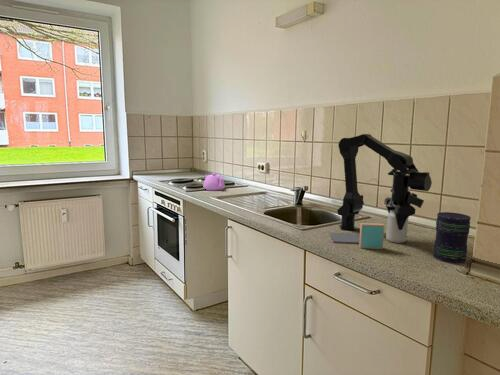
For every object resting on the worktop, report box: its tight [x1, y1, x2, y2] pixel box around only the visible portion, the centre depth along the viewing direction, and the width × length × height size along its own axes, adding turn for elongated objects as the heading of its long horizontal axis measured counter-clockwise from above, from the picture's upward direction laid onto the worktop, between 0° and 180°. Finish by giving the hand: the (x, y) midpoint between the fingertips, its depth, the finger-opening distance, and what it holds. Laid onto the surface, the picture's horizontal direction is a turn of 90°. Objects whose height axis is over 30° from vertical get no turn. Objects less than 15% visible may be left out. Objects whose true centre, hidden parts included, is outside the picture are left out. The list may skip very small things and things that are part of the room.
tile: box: [358, 222, 385, 250], centre depth 129 cm, size 2×8×9 cm, turn 84°
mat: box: [329, 232, 360, 245], centre depth 140 cm, size 12×12×1 cm
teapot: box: [202, 172, 226, 192], centre depth 255 cm, size 22×16×12 cm
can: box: [385, 210, 410, 244], centre depth 137 cm, size 8×8×12 cm
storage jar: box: [432, 211, 471, 265], centre depth 118 cm, size 10×10×15 cm
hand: (397, 227), depth 137 cm, fingers closed on can, 7 cm apart
